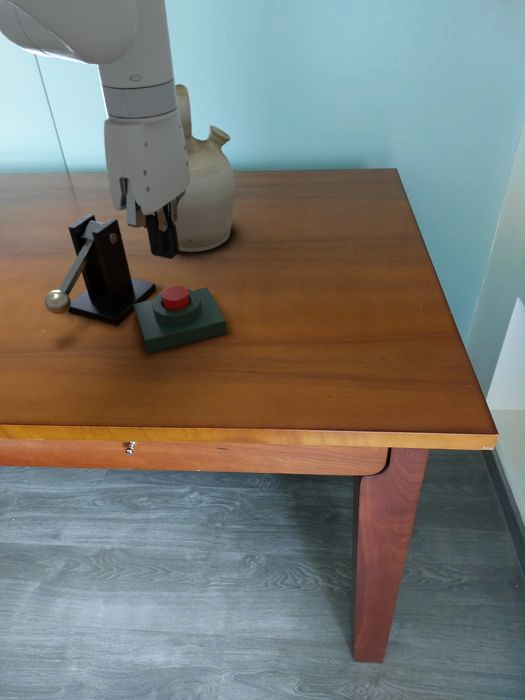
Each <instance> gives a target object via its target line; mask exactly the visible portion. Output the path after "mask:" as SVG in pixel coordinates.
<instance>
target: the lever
mask: <svg viewBox="0 0 525 700" xmlns="http://www.w3.org/2000/svg"><path fill="white" fill-rule="evenodd" d="M103 224H104V223H103V222H101V221H96V222H95V221H90V222H89V224H88V225H87V227H86V229H85V231H84V232H83V234H82V236H81V237H82V238H83V240H84V241H85V244H84V246H83V248H82V249H81V251H80V253H79V255H78V256H77V255H76V258H75V259H74V262H73V263H72V265H71V267H70V269H69V270H68V272H67V274H66V276H65V277H64V279H63V281H62V282H61V284H60V286H59V288H58V289H54V290H51V291H50V292H48V293H47V295H46V296H45V297H44V306H45V308H46V310H47V311H48V312H49V313H51V314H54V315H63V314H65V313H67V312H68V310H69V308H70V306H71V302H72V300H71V297H70V293H71V292H72V290H73V289H74V287H75V285H76V283H77V281H78V279H79V278H80V276H81V275H82V271H83V269H84V267H85V265H86V264H87V262H88V260H89V258H90V257H91V255H92V253H93V251H94V249H95V248H96V246H95V242H94V238H93V235H92V232H93V231H94V230H96V229H97V228H99V227H100V226H101V225H103Z"/></svg>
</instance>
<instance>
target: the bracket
mask: <svg viewBox="0 0 525 700" xmlns="http://www.w3.org/2000/svg"><path fill="white" fill-rule="evenodd" d="M90 221H95V222H97V219H96V217H95V214H92V213H88V214H86V215H85V216H83V217H82V218H80V219H78V220H77V221H75V222H74V223H73V224H71V225H69V226H68V227H67V228H68V231H69V234H70V238H71V241H72V244H73V248H74V251H75V255H76V257H77V256H78V255H79V253H80V251H81V249H82V248H83V246H84V244H85V241H84V240H83V238H82V237H81V236H82V234H83V232H84V231H85V229H86V227H87V225H88V224H89V222H90ZM92 235H93V238H94V242H95V246H96V248H95V249H94V251H93V253H92V255H91V257H90V258H89V260H88V262H87V264H86V265H85V267H84V269H83V271H82V272H81V275H82V278H83V281H84V285H85V288H86V290H84V291H83V292H82V293H80V294H79V295H78V296H77V297H75V298H74V299H73V300H71V306H70V308H69V310H68V311H67V312H68V313H71V314H74V315H78V316H82V317H84V318H89V319H92V320H96V321H99V322H102V323H103V322H104V323H107V324H111V325H115V326H119V325H120V324H122V322H123V321H124V320H125V319H127V318H128V317H129V316H130V315H131V314H132V313H133V312H135V309H134V304H137V303H141V302H145V301H147V299H148V298H149V297H150V296H151V295H153V293H154V292H156V291H157V287H156V283H155V282H151V281H147V280H142V279H139V278H134V277H132V276H131V272H130V267H129V263H128V258H127V255H126V249H125V245H124V242H123V241H124V240H123V237H122V233H121V229H120V224H119V220H118V219H117V218H110V219H109V220H107V221H106V222H104V223H103V225H101V226H100V227H99V228H97V229H96V230H94V231H93V232H92Z"/></svg>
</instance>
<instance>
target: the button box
mask: <svg viewBox="0 0 525 700" xmlns="http://www.w3.org/2000/svg"><path fill="white" fill-rule="evenodd" d="M186 289H187V290H188V293H189V300H190V304H189V306H187V307H186V308H184V309H180V310H176V311H174V310H167V309H165V308H164V305H163V300H162V292H161V293H160V294H158V295H156V296H155V298H154V299H150V300H145V301H144V302H141V303H137V304H134V309H135V310H134V313H135V318H136V320H137V324H138V326H139V329H140V333H141V336H142V339H143V342H144V345H145V349H146V351H147V354H150V353H151V354H152V353H154V352H159V351H163V350H166V349H171V348H174V347H178V346H183V345H185V344H190V343H194V342H197V341H201V340H206V339H209V338H213V337H217V336H221V335H225V334H227V324H226V323H227V322H226V319H225V317H224V315H223V314H222V311H221V310H220V308H219V306H218V305H217V302H216V300H215V299H214V297H213V294H212V293H211V291H210V289H209V287H203V288H198V289H193V290H192V289H190V288H186Z"/></svg>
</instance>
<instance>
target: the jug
mask: <svg viewBox="0 0 525 700" xmlns="http://www.w3.org/2000/svg"><path fill="white" fill-rule="evenodd" d="M175 89H176V97H177V106H178V112H179V115H180V119H181V123H182V128H183V132H184V137H185V142H186V148H187V154H188V162H189V172H190V183H189V186H188V187H187V189H186V190H185V194H184V196H183V197H182V198H181V199H180V201H179V203H178V206H177V215H178V219H177V222H176V223H173V224H174V225H176V231H177V238H178V245H179V252H182V253H200V252H205V251H211V250H213V249H215V248H217V247H219V246H221V245H223V244H224V243H225V242H226V241H227V240H228V239H229V237H230V235H231V229H232V224H233V215H234V209H235V208H234V207H235V198H236V180H235V179H236V178H235V174H234V173H235V172H234V169H233V168H232V165H231V163H230V161H229V159H228V157H227V156H226V154H225V153H224V152H223V150H222V147H223V146H224V145H226V144H227V143H228V142H230V141H231V139H232V138H231V136H230V135H229V134H228V133H227V132H225V131H224V130H222V129H221V128H219V127H217V126H215V125H210V126H209V132H208V137H207V138H206V139H198V138H196V137H194V135H193V134H192V133H193V125H192V111H191V102H190V95H189V90H188V88H187V87H186V86H185V85H184V84H180V83H177V84H175ZM153 215H154V214H153Z"/></svg>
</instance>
